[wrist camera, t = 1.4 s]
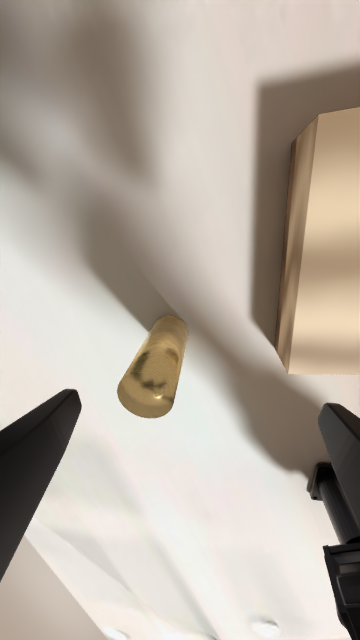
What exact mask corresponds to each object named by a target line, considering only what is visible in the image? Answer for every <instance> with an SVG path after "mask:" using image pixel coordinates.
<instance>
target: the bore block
mask: <svg viewBox="0 0 360 640" xmlns="http://www.w3.org/2000/svg"><path fill="white" fill-rule="evenodd" d="M275 350H276V352H277V354H278V356H279V358H280V359H281V361H282V363H283V365H284V367H285V369H286V371H287V373H288V374H353V375H360V107H356V108H351V109H345V110H339V111H334V112H328V113H322V114H318V116H317V117H316V118H315V119H314V120H313V121H312V122H311V123H310V124H309V125H308V126H307V127H306V128H305V129H304V130H303V132H302V133H301V134H300V135H299V136H298V137H297V138H296V139H295V140H294V141H293V142H292V147H291V159H290V171H289V183H288V195H287V207H286V219H285V231H284V243H283V255H282V267H281V279H280V291H279V303H278V315H277V327H276V338H275Z"/></svg>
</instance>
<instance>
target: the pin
mask: <svg viewBox="0 0 360 640" xmlns="http://www.w3.org/2000/svg"><path fill="white" fill-rule="evenodd" d="M188 334H189V332H188V328H187V325H186V324H185V323H184V322H183V321H182V320H181V319H180V318H178V317H175V316H164V317H161V318H160V319H158V320H157V321H156V323H155V324H154V326H153V328H152V329H151V331H150V333H149V334H148V336H147V338H146V339H145V341H144V343H143V344H142V346H141V348H140V349H139V351H138V353H137V354H136V356H135V358H134V359H133V361H132V363H131V364H130V366H129V368H128V369H127V371H126V373H125V375H124V376H123V378H122V380H121V381H120V383H119V385H118V389H117V394H118V398H119V400H120V402H121V403H122V405H123V406H124V407H125V408H126V409H127V410H128V411H130V412H131V413H133V414H135V415H137V416H140V417H144V418H158V417H161V416H163V415H165V414H167V413H168V412H169V411H170V410H171V408H172V406H173V403H174V398H175V394H176V389H177V385H178V380H179V376H180V371H181V367H182V362H183V358H184V353H185V349H186V344H187V339H188Z"/></svg>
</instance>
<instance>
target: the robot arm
mask: <svg viewBox="0 0 360 640" xmlns="http://www.w3.org/2000/svg"><path fill="white" fill-rule="evenodd" d="M81 407H82V405H81V401H80V398H79V395H78V392H77V390H75V389H64V390H62V391H61V392H59V393H58V394H56V395H55V396H53V397H52V398H50V399H49V400H47V401H46V402H44V403H42V404H41V405H39V406H38V407H36V408H35V409H33V410H32V411H30V412H29V413H27V414H26V415H24V416H22V417H21V418H19V419H18V420H16V421H15V422H13V423H12V424H10V425H9V426H7V427H6V428H4V429H3V430H1V431H0V582H1V580H2V577H3V576H4V574H5V571H6V570H7V568H8V566H9V563H10V561H11V560H12V557H13V555H14V553H15V551H16V549H17V547H18V545H19V543H20V541H21V539H22V537H23V535H24V533H25V531H26V529H27V527H28V525H29V523H30V521H31V519H32V517H33V515H34V513H35V511H36V509H37V507H38V505H39V503H40V501H41V499H42V497H43V495H44V493H45V491H46V489H47V487H48V485H49V483H50V481H51V479H52V477H53V475H54V473H55V471H56V469H57V467H58V465H59V463H60V461H61V459H62V457H63V455H64V452H65V450H66V448H67V445H68V443H69V440H70V438H71V435H72V432H73V430H74V427H75V425H76V422H77V419H78V417H79V414H80V412H81ZM318 424H319V428H320V431H321V434H322V437H323V439H324V442H325V445H326V448H327V451H328V454H329V457H330V460H331V463H332V464H317V465H316V468H315V473H314V477H313V482H312V486H311V491H310V496H311V499H313V500H319V501H323V503H324V505H325V508H326V510H327V513H328V515H329V518H330V520H331V522H332V525H333V527H334V530H335V532H336V535H337V537H338V540H339V542H340V545H335V546H328V545H326V546H323V550H324V554H325V556H324V558H325V562H326V566H327V570H328V573H329V577H330V581H331V585H332V589H333V593H334V597H335V602H336V609H337V615H338V618H339V620H340V622H341V624H342V625H343V626H344V627H345V628H346V629H347V630H348V632H349V634H350V637H351V639H352V640H360V418H358V417H357V416H356V415H354V414H353V413H352V412H350V411H349V410H347V409H346V408H345V407H343V406H342V405H340V404H337V403H326V404H324V406H323V408H322V411H321V413H320V416H319V419H318Z"/></svg>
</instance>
